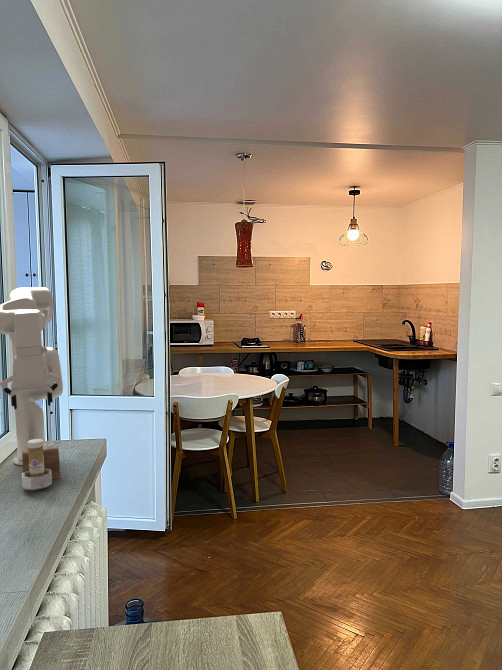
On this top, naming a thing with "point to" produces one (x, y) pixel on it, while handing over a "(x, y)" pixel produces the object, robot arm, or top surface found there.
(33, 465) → the sprinkles bottle
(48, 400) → the robot arm
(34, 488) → the cup bracket
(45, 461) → the mount board
